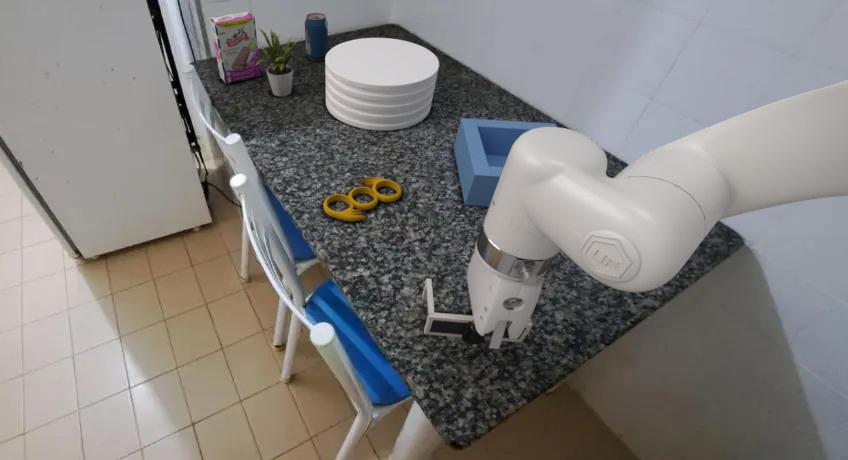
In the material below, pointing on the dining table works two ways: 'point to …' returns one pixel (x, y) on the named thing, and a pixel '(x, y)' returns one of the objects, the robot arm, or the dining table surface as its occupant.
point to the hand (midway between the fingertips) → (472, 334)
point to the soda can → (316, 36)
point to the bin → (485, 154)
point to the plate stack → (380, 83)
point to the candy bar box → (235, 46)
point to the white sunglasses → (454, 320)
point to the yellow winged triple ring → (357, 214)
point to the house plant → (278, 65)
